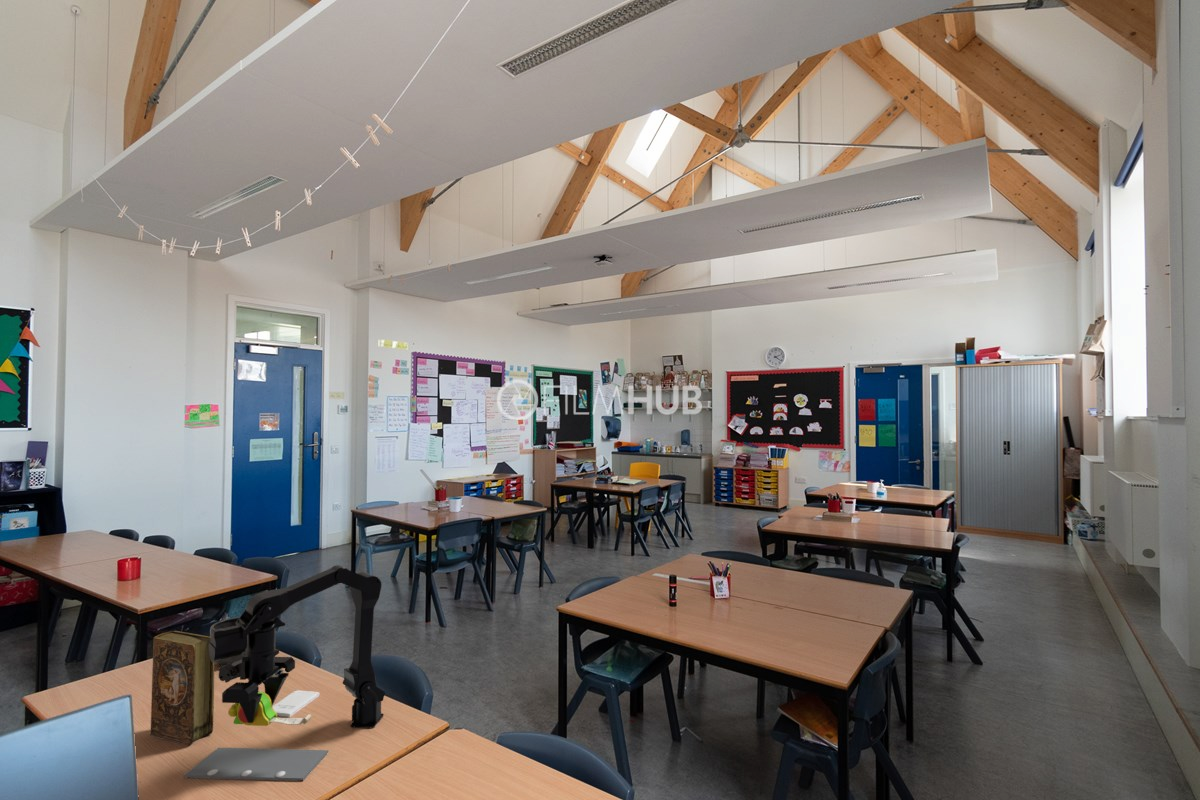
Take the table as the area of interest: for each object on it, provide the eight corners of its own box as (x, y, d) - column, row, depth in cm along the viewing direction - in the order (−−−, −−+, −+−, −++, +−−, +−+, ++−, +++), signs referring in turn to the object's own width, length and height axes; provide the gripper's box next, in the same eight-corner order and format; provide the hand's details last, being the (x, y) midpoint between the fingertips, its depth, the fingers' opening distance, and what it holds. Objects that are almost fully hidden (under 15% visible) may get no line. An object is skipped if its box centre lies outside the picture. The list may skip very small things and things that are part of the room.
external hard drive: (319, 697, 168) (289, 719, 156) (294, 695, 169) (263, 716, 157) (319, 691, 168) (289, 713, 156) (294, 689, 169) (263, 710, 157)
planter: (198, 669, 186) (199, 629, 187) (232, 652, 200) (233, 615, 200) (235, 672, 184) (236, 631, 184) (267, 654, 198) (268, 617, 198)
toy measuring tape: (238, 714, 138) (239, 686, 138) (316, 715, 137) (316, 688, 138) (219, 728, 132) (220, 699, 132) (301, 730, 131) (302, 701, 131)
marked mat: (328, 752, 139) (328, 749, 139) (303, 781, 128) (303, 777, 128) (218, 749, 140) (218, 746, 140) (183, 777, 129) (183, 774, 129)
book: (146, 734, 147) (149, 637, 148) (169, 724, 152) (171, 630, 153) (191, 746, 142) (194, 645, 143) (212, 735, 147) (215, 637, 148)
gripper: (254, 633, 145) (253, 695, 144) (199, 664, 126) (197, 735, 126) (296, 634, 144) (295, 696, 144) (247, 665, 126) (246, 737, 125)
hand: (260, 715), depth 135 cm, fingers closed on toy measuring tape, 6 cm apart
